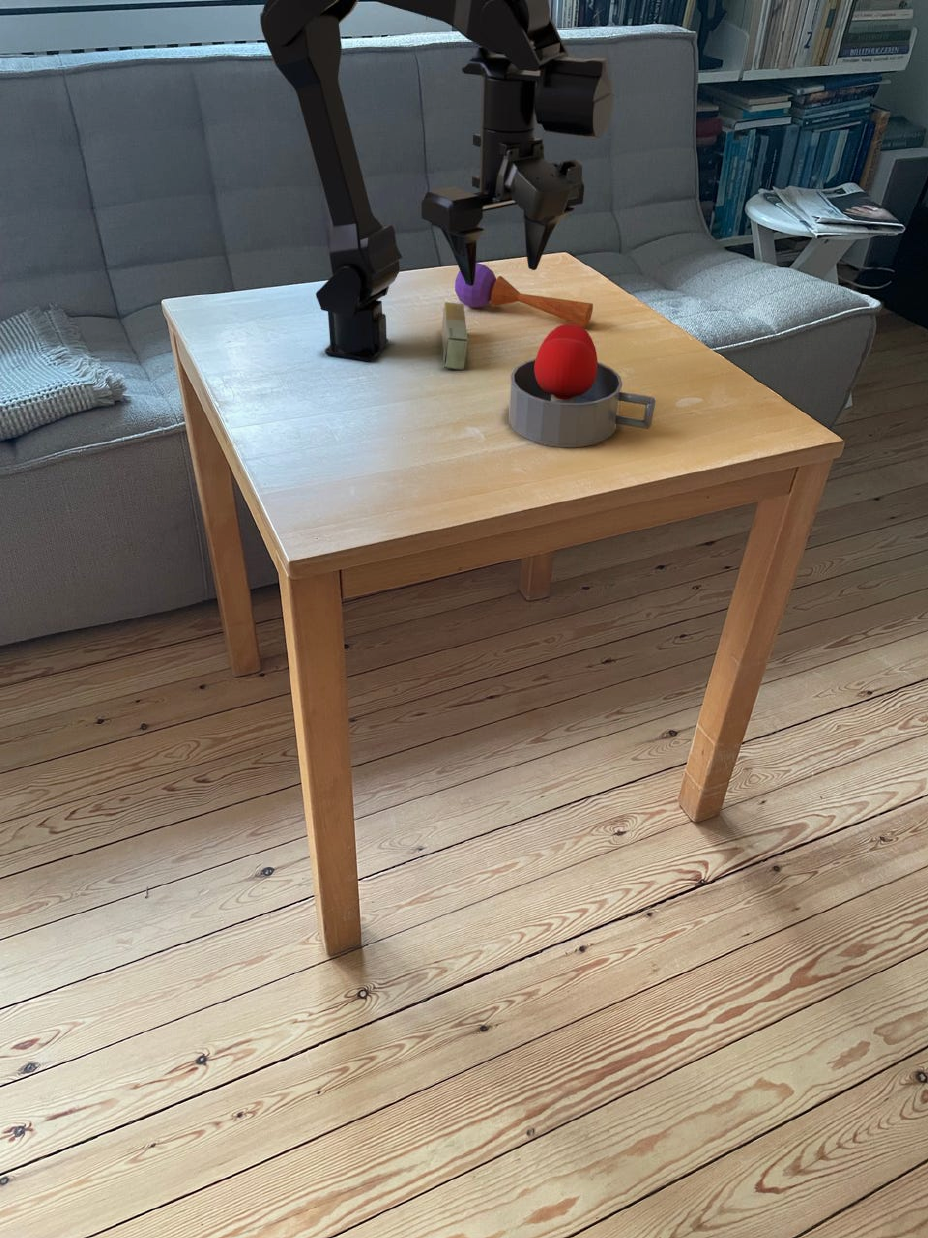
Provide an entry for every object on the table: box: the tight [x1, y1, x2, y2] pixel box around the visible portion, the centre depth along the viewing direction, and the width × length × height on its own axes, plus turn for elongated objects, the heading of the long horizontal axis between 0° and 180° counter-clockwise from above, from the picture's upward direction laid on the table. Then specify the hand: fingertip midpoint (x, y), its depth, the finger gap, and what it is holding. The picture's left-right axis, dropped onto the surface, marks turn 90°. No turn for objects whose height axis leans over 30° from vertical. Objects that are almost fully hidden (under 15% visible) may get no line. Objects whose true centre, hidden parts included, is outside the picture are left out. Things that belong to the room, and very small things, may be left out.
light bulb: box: [534, 323, 599, 403], centre depth 104 cm, size 9×7×10 cm
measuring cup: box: [508, 357, 657, 448], centre depth 105 cm, size 16×12×5 cm
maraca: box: [454, 262, 594, 329], centre depth 130 cm, size 6×6×20 cm
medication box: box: [440, 301, 469, 371], centre depth 120 cm, size 12×3×4 cm, turn 3°
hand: (501, 276), depth 106 cm, fingers open, 9 cm apart
